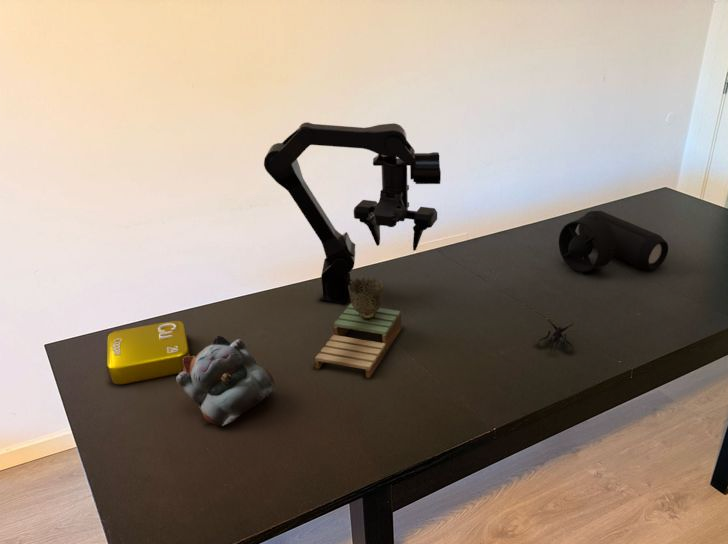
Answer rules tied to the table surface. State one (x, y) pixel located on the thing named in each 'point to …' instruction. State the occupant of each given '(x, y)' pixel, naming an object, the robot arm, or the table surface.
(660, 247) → the portable speaker
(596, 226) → the black round hollow piece
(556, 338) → the creature
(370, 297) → the ornate brown dome cover
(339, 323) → the rack
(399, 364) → the table surface
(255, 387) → the lucky cat figurine
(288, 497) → the table surface
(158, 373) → the element tile
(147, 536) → the table surface
